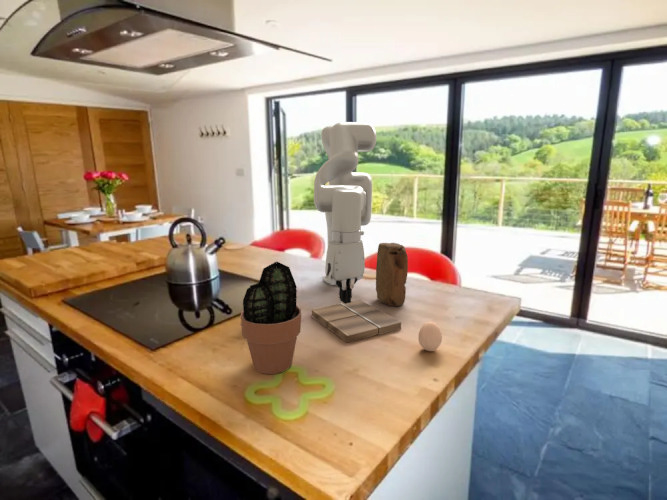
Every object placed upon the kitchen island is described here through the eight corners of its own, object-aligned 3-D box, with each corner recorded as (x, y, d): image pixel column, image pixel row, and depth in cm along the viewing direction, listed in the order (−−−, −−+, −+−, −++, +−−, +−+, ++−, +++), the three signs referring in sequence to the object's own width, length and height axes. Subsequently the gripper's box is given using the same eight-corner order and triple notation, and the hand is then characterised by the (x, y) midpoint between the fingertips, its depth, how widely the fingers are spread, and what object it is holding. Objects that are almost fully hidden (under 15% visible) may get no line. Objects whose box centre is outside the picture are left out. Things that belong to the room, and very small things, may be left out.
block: (373, 298, 135) (375, 241, 131) (392, 295, 138) (394, 240, 133) (389, 308, 125) (391, 248, 121) (409, 305, 128) (412, 246, 124)
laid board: (339, 309, 125) (339, 303, 124) (359, 305, 128) (360, 299, 128) (379, 334, 107) (379, 327, 107) (400, 328, 111) (401, 321, 110)
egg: (430, 358, 95) (432, 329, 93) (412, 348, 99) (414, 321, 97) (445, 351, 98) (447, 323, 96) (427, 342, 102) (429, 315, 101)
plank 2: (328, 328, 111) (328, 321, 110) (357, 321, 116) (357, 315, 115) (347, 342, 102) (347, 335, 102) (378, 334, 107) (378, 327, 106)
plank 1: (311, 315, 120) (311, 309, 119) (339, 309, 124) (339, 303, 124) (327, 327, 111) (327, 321, 111) (356, 320, 116) (356, 314, 115)
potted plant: (251, 350, 98) (246, 254, 92) (304, 350, 98) (303, 254, 92) (236, 379, 85) (229, 269, 79) (298, 381, 84) (296, 270, 79)
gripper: (361, 230, 108) (360, 292, 113) (314, 236, 101) (314, 302, 106) (377, 236, 102) (375, 301, 107) (328, 242, 95) (328, 312, 100)
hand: (345, 301), depth 106 cm, fingers closed
